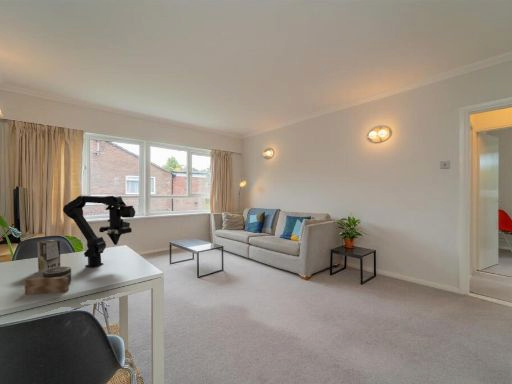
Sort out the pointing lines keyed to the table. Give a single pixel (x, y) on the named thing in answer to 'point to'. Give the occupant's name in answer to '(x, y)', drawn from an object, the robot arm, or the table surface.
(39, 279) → the walnut board
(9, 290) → the table surface
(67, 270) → the jar
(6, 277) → the table surface
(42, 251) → the coffee box
